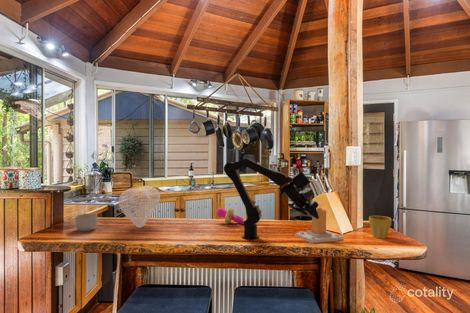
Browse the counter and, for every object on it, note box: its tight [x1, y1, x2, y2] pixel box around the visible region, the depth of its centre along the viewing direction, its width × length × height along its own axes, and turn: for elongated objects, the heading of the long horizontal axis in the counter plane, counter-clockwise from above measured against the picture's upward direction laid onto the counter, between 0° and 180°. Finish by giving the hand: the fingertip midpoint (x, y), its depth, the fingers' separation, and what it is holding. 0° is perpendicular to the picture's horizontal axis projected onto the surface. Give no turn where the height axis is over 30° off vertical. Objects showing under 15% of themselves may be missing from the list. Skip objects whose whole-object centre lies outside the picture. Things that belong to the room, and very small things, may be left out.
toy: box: [215, 207, 245, 225], centre depth 184 cm, size 10×18×10 cm, turn 72°
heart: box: [118, 185, 161, 229], centre depth 172 cm, size 28×16×22 cm, turn 168°
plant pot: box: [368, 215, 392, 239], centre depth 158 cm, size 10×10×10 cm
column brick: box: [311, 207, 327, 235], centre depth 155 cm, size 5×5×13 cm
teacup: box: [74, 212, 98, 232], centre depth 167 cm, size 14×11×8 cm
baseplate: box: [294, 230, 344, 244], centre depth 155 cm, size 18×14×3 cm
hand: (312, 216), depth 154 cm, fingers open, 9 cm apart
